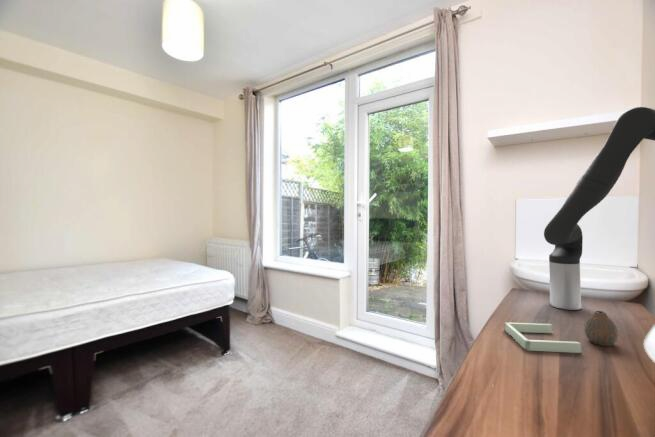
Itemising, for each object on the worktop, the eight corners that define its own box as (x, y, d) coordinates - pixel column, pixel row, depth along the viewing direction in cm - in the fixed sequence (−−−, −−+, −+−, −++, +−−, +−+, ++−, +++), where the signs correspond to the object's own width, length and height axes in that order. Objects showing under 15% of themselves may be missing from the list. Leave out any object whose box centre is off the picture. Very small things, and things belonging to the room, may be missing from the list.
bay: (504, 330, 92) (504, 322, 92) (550, 331, 89) (550, 323, 89) (526, 350, 78) (525, 341, 78) (581, 353, 76) (580, 343, 76)
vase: (609, 339, 83) (608, 309, 83) (624, 350, 77) (623, 317, 77) (579, 337, 85) (578, 307, 85) (592, 347, 79) (591, 315, 79)
